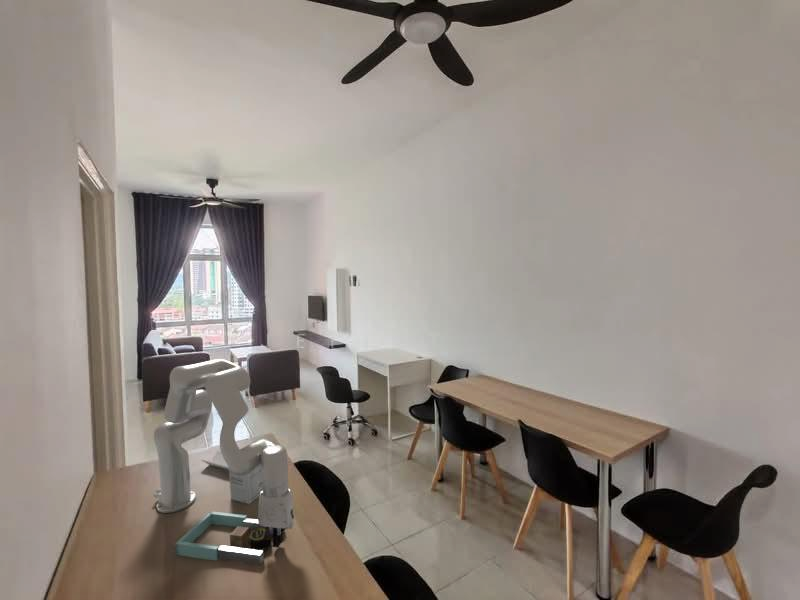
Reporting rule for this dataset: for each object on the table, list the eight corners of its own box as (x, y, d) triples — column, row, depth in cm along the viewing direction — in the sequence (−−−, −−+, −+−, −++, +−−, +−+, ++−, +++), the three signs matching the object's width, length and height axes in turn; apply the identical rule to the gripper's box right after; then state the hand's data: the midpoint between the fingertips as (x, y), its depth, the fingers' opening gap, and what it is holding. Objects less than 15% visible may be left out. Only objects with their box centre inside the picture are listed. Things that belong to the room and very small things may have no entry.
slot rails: (217, 559, 112) (217, 549, 112) (246, 526, 126) (246, 518, 126) (260, 565, 109) (259, 555, 109) (284, 531, 124) (284, 522, 123)
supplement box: (248, 486, 151) (246, 445, 149) (266, 490, 147) (264, 449, 146) (229, 499, 142) (227, 456, 140) (248, 504, 138) (246, 460, 137)
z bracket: (218, 469, 173) (225, 455, 176) (259, 480, 162) (266, 466, 166) (200, 460, 164) (208, 446, 168) (242, 471, 154) (250, 456, 158)
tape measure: (271, 550, 115) (270, 538, 115) (247, 555, 113) (247, 543, 113) (271, 535, 122) (271, 524, 122) (249, 540, 120) (248, 529, 120)
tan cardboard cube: (230, 546, 117) (229, 534, 117) (238, 538, 121) (237, 526, 121) (241, 548, 116) (241, 536, 116) (249, 539, 120) (248, 527, 120)
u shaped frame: (175, 554, 114) (174, 543, 114) (210, 520, 129) (210, 511, 129) (216, 560, 111) (215, 549, 111) (247, 525, 127) (247, 515, 127)
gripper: (246, 492, 113) (249, 550, 114) (292, 496, 110) (294, 556, 111) (260, 478, 120) (262, 533, 121) (303, 482, 117) (305, 538, 118)
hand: (277, 544), depth 116 cm, fingers closed
